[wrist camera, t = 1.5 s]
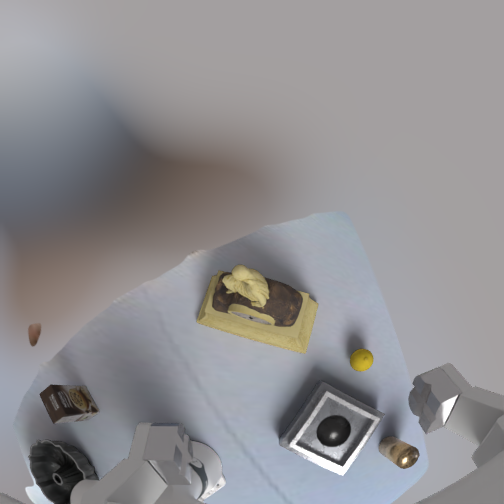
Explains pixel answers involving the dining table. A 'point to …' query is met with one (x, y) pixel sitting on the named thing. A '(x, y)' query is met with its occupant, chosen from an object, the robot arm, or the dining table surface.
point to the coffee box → (68, 403)
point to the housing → (331, 428)
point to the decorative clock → (258, 309)
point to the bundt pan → (58, 469)
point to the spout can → (398, 452)
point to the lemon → (361, 360)
